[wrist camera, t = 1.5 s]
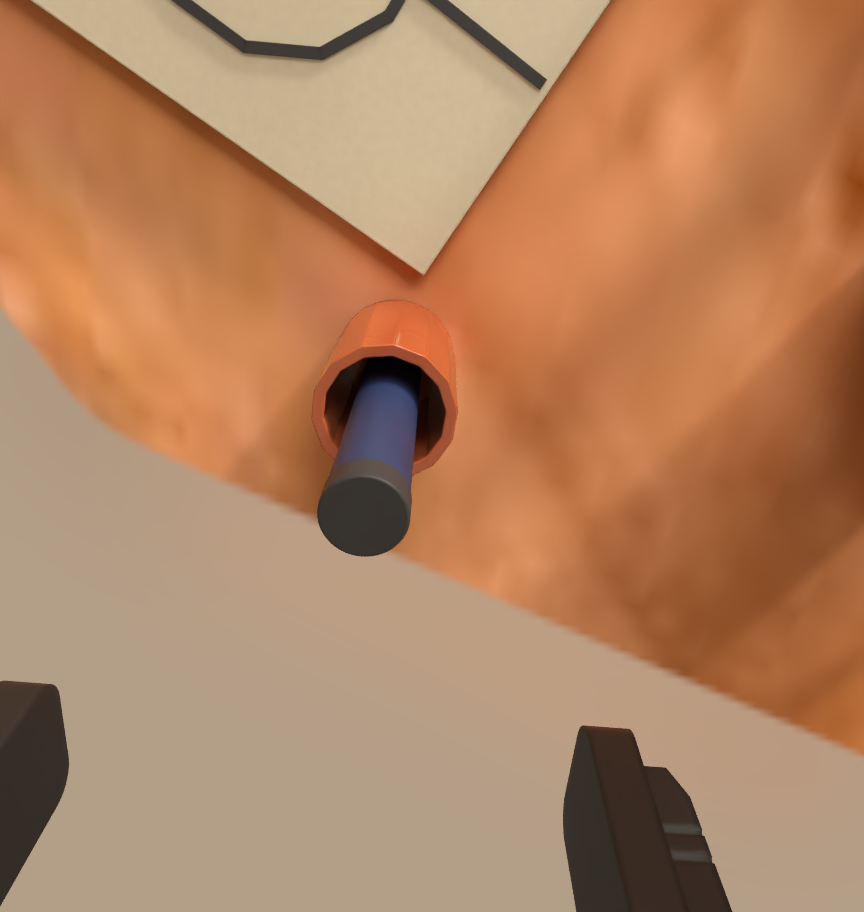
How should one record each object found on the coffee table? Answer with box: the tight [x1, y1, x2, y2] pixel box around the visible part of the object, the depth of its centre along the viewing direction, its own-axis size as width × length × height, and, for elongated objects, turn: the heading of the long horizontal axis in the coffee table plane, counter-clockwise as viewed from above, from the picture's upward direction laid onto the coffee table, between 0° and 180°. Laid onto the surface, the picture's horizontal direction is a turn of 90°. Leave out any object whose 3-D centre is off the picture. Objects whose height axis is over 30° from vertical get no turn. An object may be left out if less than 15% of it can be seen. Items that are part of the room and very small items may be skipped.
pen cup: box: [312, 300, 458, 476], centre depth 28 cm, size 5×5×7 cm
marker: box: [317, 356, 421, 556], centre depth 25 cm, size 2×2×14 cm
